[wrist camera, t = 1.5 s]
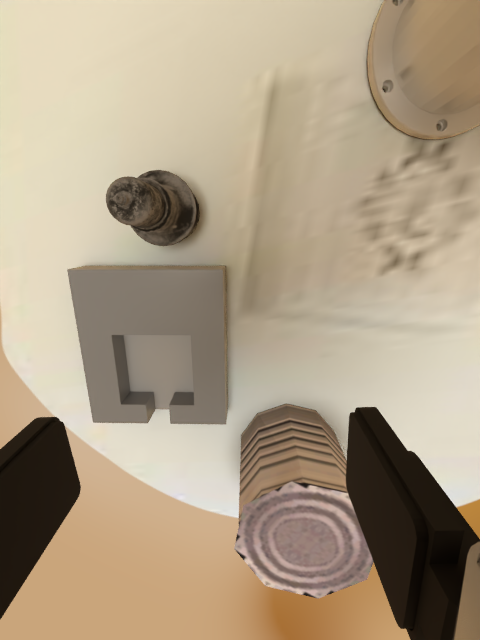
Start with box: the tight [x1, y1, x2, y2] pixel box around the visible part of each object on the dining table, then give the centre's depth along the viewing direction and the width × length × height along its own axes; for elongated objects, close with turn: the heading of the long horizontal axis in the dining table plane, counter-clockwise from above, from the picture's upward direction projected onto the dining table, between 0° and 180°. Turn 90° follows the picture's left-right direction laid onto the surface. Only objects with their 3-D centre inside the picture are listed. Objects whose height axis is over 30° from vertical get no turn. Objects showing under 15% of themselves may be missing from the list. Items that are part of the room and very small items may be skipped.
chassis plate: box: [68, 266, 228, 424], centre depth 30 cm, size 16×14×3 cm
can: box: [235, 404, 374, 598], centre depth 29 cm, size 11×11×12 cm
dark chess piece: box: [106, 170, 199, 246], centre depth 22 cm, size 6×6×12 cm
